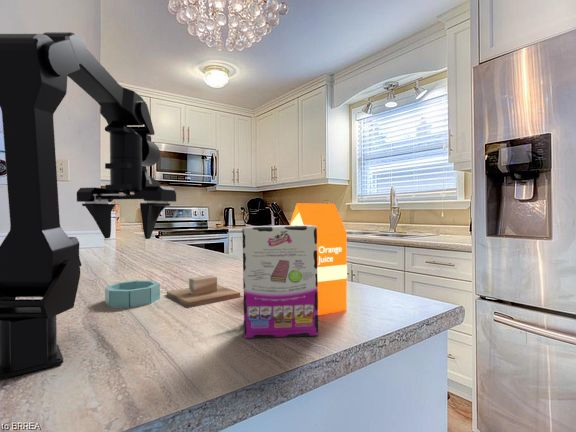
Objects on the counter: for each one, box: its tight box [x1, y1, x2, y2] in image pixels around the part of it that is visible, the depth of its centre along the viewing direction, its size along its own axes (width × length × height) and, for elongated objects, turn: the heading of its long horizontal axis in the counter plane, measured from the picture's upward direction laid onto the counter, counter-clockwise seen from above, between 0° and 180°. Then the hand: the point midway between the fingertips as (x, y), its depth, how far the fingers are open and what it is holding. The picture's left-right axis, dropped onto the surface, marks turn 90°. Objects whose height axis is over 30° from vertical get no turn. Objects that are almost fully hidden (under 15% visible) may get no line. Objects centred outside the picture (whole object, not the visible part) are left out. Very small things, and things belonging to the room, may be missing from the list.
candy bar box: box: [242, 224, 319, 339], centre depth 51 cm, size 11×5×16 cm, turn 94°
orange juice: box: [289, 202, 348, 316], centre depth 63 cm, size 8×9×20 cm
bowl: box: [104, 279, 161, 309], centre depth 65 cm, size 9×9×4 cm
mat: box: [163, 294, 244, 309], centre depth 68 cm, size 12×12×1 cm
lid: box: [166, 274, 241, 307], centre depth 68 cm, size 11×11×4 cm
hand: (127, 238), depth 65 cm, fingers open, 9 cm apart
